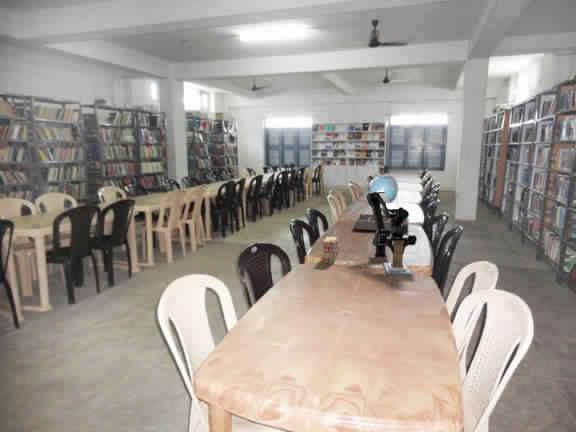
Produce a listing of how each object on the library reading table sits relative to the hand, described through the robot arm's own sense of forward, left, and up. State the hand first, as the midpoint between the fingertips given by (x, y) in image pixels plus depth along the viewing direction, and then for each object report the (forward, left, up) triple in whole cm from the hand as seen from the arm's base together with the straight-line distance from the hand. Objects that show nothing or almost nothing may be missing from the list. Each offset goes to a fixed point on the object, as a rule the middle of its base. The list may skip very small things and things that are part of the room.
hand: (398, 253), depth 199 cm
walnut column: (-1, 0, -7) cm, 7 cm away
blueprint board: (-2, 0, -9) cm, 9 cm away
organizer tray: (-112, +2, -10) cm, 113 cm away
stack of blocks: (-21, -34, -10) cm, 41 cm away
